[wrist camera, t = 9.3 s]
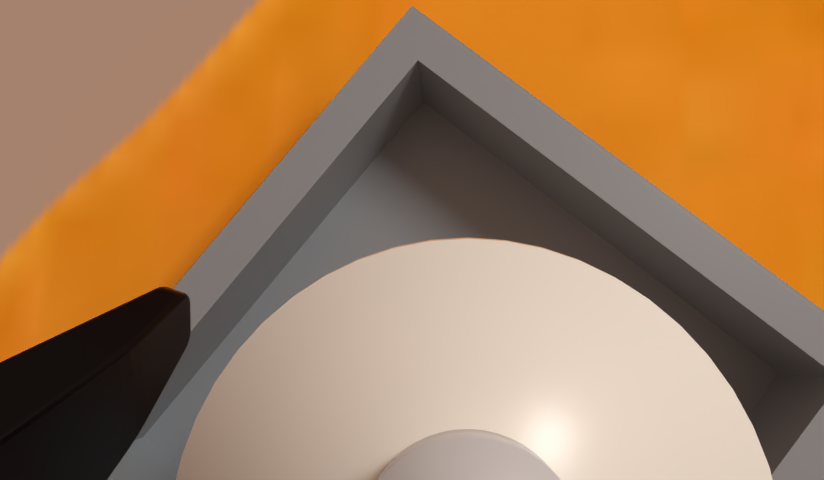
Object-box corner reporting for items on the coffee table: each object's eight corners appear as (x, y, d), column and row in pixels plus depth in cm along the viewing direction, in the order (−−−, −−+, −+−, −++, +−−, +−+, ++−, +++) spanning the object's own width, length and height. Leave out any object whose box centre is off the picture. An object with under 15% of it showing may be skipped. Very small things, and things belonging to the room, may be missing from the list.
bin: (499, 803, 18) (511, 915, 14) (102, 439, 19) (28, 460, 16) (823, 367, 19) (907, 372, 15) (418, 62, 21) (412, 5, 17)
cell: (567, 496, 18) (908, 931, 5) (371, 519, 18) (149, 1002, 5) (537, 300, 19) (755, 181, 5) (350, 323, 19) (109, 263, 6)
